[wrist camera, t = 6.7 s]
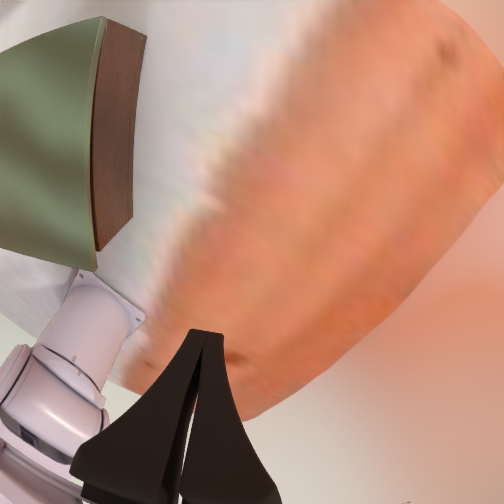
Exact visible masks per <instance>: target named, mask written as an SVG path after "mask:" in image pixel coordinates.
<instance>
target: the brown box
mask: <svg viewBox="0 0 504 504" xmlns="http://www.w3.org/2000/svg"><path fill="white" fill-rule="evenodd" d="M146 38H147V36H146V35H144V34H142V33H140V32H137V31H135V30H133V29H131V28H129V27H126V26H124V25H122V24H119V23H117V22H115V21H112V20H110V19H107V23H106V27H105V31H104V35H103V40H102V44H101V49H100V54H99V60H98V66H97V72H96V79H95V86H94V94H93V104H92V116H91V131H90V195H91V211H92V224H93V234H94V243H95V251H98V252H100V251H101V250H102V249H103V248H104V247H105V246H106V245H107V244H108V243H109V241H110V240H111V239H112V238H113V237H114V236H115V235H116V234H117V233H118V232H119V231H120V230H121V229H122V228H123V227H124V226H125V225H126V223H127V222H128V221H129V220H130V219H131V218H132V217H133V199H132V176H133V145H134V128H135V116H136V105H137V96H138V88H139V80H140V73H141V66H142V60H143V54H144V49H145V43H146Z"/></svg>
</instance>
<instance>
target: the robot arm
mask: <svg viewBox="0 0 504 504" xmlns="http://www.w3.org/2000/svg"><path fill="white" fill-rule="evenodd" d="M138 318H139V319H138ZM145 318H146V315H145V313H143V312H142V311H141V310H139V309H138V308H137V307H135V306H134V305H132V304H131V303H130V302H128V301H127V300H126V299H124V298H123V297H122V296H121V295H119V294H118V293H117V292H115V291H114V290H113V289H112V288H110V287H109V286H108V285H106V284H105V283H104V282H103V281H102V280H100V279H99V278H98V277H97V276H95V275H94V274H93V273H92V272H89V271H85V270H81V269H79V270H78V272H77V274H76V276H75V279H74V281H73V283H72V285H71V287H70V289H69V291H68V294H67V296H66V298H65V300H64V303H63V304H62V306H61V307H60V308H59V310H58V311H57V312H56V314H55V315H54V317H53V318H52V319H51V321H50V322H49V324H48V325H47V327H46V328H45V330H44V331H43V333H42V334H41V335H40V337H39V339H38V340H37V342H36V343H35V345H34V346H33V347H32V348H30V347H29V346H28V345H27V344H24V345H17V346H16V347H15V348H14V349H13V350H12V352H11V353H10V354H9V356H8V357H7V358H6V360H5V361H4V363H3V364H2V366H1V368H0V504H83V502H82V500H83V501H85V502H87V503H90V504H178V498H179V493H180V495H181V496H182V504H282V501H281V498H280V494H279V492H278V489H277V486H276V485H275V483H274V481H273V480H272V478H271V477H270V476H269V474H268V472H267V471H266V469H265V468H264V466H263V465H262V463H261V461H260V459H259V458H258V456H257V454H256V452H255V450H254V449H253V446H252V444H251V442H250V440H249V438H248V436H247V434H246V432H245V430H244V428H243V425H242V423H241V420H240V417H239V415H238V412H237V409H236V406H235V403H234V400H233V397H232V393H231V389H230V386H229V381H228V376H227V372H226V366H225V359H224V335H223V334H221V333H215V332H209V331H203V330H197V329H190V330H189V332H188V334H187V336H186V338H185V340H184V341H183V343H182V345H181V346H180V348H179V350H178V351H177V353H176V354H175V356H174V357H173V359H172V360H171V361H170V363H169V364H168V366H167V367H166V368H165V370H164V371H163V372H162V374H161V375H160V376H159V377H158V379H157V380H156V381H155V382H154V384H153V385H152V386H151V387H150V388H149V389H148V390H147V391H146V393H145V394H144V395H143V396H142V397H141V398H140V399H139V400H138V401H137V402H136V403H135V404H134V405H133V406H132V407H131V408H129V409H128V410H127V411H126V412H125V413H124V414H123V415H122V416H121V417H119V418H118V419H117V420H116V421H114V422H113V423H112V424H110V422H109V415H108V413H107V411H106V410H105V409H104V408H103V406H104V404H105V401H106V398H105V397H103V396H102V395H101V391H102V389H103V387H104V384H105V382H106V379H107V377H108V375H109V372H110V370H111V368H112V365H113V363H114V361H115V359H116V356H117V354H118V352H119V350H120V348H121V345H122V343H123V342H124V340H125V339H126V338H127V337H128V336H129V335H130V334H131V333H132V332H133V331H134V330H135V329H136V328H137V327H138V326H139V325H140V324H141V323H142V322H143V321H144V320H145ZM197 395H198V399H197V404H196V409H195V414H194V418H193V423H192V428H191V433H190V438H189V442H188V448H187V452H186V457H185V461H184V466H183V458H184V452H185V445H186V438H187V432H188V428H189V423H190V420H191V416H192V413H193V409H194V405H195V402H196V398H197ZM182 466H183V470H182ZM181 473H182V475H181ZM75 478H77V479H79V480H81V481H83V482H84V484H83V487H81V486H79V485H77V484H74V483H73V482H70V481H68V480H66V479H75ZM403 504H411V502H406V503H403Z"/></svg>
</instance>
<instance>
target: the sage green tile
mask: <svg viewBox="0 0 504 504" xmlns="http://www.w3.org/2000/svg"><path fill="white" fill-rule="evenodd" d="M106 23H107V18H105V17H103V16H101V17H96V18H92V19H88V20H84V21H81V22H77V23H74V24H70V25H67V26H64V27H61V28H58V29H55V30H52V31H49V32H47V33H44V34H41V35H39V36H36V37H34V38H31V39H29V40H27V41H24V42H22V43H20V44H18V45H16V46H14V47H11V48H9V49H7V50H5V51H3V52H1V53H0V248H3V249H6V250H10V251H13V252H16V253H20V254H23V255H27V256H31V257H34V258H38V259H42V260H45V261H49V262H53V263H57V264H61V265H65V266H69V267H73V268H77V269H81V270H85V271H89V272H95V270H96V269H97V268H98V265H97V258H96V251H95V243H94V234H93V224H92V211H91V195H90V131H91V116H92V104H93V94H94V86H95V79H96V72H97V66H98V60H99V54H100V49H101V44H102V40H103V35H104V31H105V27H106Z"/></svg>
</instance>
